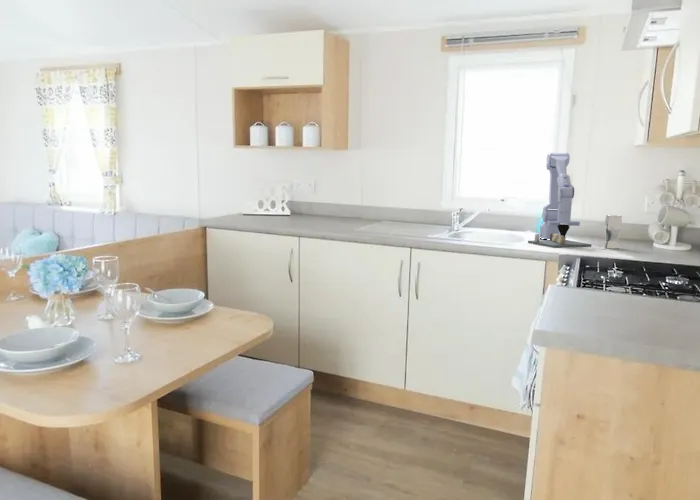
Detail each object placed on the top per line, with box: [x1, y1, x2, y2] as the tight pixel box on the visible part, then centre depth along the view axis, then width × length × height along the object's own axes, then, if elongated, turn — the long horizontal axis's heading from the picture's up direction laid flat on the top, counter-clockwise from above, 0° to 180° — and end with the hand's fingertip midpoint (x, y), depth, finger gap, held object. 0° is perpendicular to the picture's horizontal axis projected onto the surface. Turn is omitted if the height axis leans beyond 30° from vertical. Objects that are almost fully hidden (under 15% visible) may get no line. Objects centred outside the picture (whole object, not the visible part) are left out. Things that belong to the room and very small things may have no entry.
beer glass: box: [603, 214, 623, 250], centre depth 253 cm, size 7×7×15 cm
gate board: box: [527, 233, 592, 249], centre depth 263 cm, size 18×22×5 cm
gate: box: [550, 233, 567, 244], centre depth 263 cm, size 16×2×4 cm, turn 179°
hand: (562, 240), depth 261 cm, fingers closed, pressing on gate
